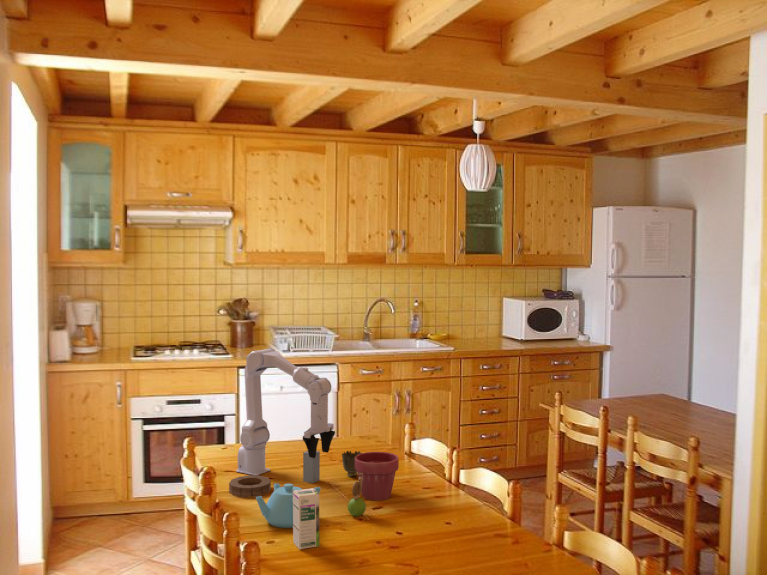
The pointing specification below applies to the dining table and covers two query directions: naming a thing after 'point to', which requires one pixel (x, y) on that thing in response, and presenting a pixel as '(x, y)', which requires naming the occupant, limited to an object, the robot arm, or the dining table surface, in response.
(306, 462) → the slate peg
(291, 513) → the teapot
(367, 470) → the plant pot
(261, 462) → the robot arm
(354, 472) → the cup
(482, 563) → the dining table surface
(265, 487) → the walnut ring
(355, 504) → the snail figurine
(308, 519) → the syrup box
